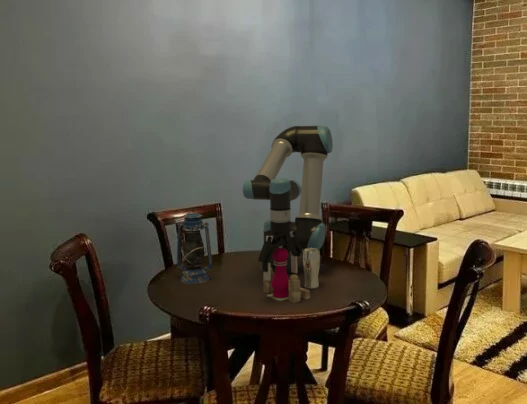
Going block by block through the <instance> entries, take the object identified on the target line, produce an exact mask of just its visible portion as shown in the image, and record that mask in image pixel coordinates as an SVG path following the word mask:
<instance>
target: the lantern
mask: <svg viewBox="0 0 527 404" xmlns="http://www.w3.org/2000/svg"><path fill="white" fill-rule="evenodd" d="M191 211H194V212H193V213H191ZM202 217H203V214H201V213H198V212H197V210H196V209H193V208H191V209H189V210H188V212H187V213H186V214H185V215H183V218H184V220H183V222H182V221H181V222H180V221H178V222H177V224H176V225H177V244H176V245H177V249H176V265H177V268H178V269H180V270H182V275H181V277H180V282H181V283H183V284H188V285H200V284H204V283H207V282H209V281H210V280H211V279H210V276H209V274H208V271H210V270H212V268H213V257H212V256H213V255H212V248H211V238H210V230H209V223H208V221H205V223H204V222H203V220H202ZM202 230H204V231H205V232H204V233H205V242H206V247H205V246H204V245H205V244H204V241H203V238H202V234H201V231H202ZM182 231H186V235H185V240H184V244H182ZM206 254H207V262H208V263H207V266H206V267H203V266H202V265H203V262H204V260H205V255H206ZM182 256H183V262H184V263H185V264H186V266H185V265H183V264H182V261H181V260H182ZM209 279H210V280H209Z"/></svg>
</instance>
